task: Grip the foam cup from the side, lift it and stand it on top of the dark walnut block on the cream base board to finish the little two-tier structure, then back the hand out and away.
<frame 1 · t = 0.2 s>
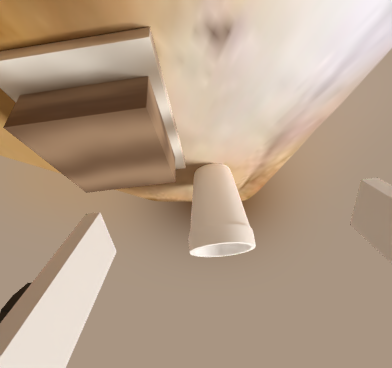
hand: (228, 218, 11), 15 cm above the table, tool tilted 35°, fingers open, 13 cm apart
build base: (114, 122, 25), on the table
foam cup: (212, 172, 36), on the table
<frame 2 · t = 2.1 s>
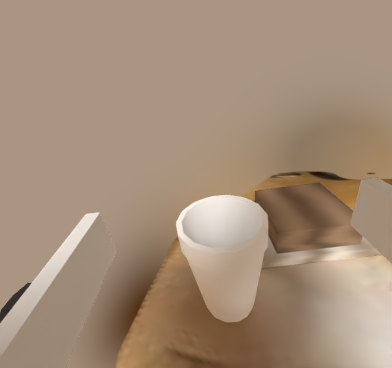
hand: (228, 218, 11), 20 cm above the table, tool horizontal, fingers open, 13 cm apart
build base: (298, 230, 37), on the table
foam cup: (229, 298, 28), on the table
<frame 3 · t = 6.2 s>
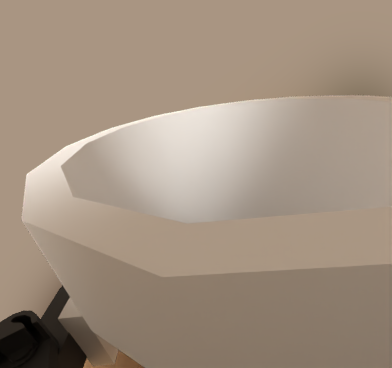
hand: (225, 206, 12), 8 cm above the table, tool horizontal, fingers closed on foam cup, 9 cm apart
foam cup: (246, 367, 11), on the table, touching gripper
when the fingers open (14 cm above the table, at t = 10.7 s): foam cup drops 1 cm, resting on build base.
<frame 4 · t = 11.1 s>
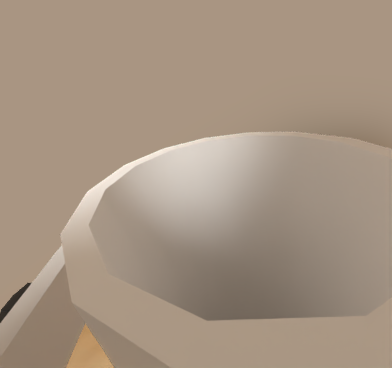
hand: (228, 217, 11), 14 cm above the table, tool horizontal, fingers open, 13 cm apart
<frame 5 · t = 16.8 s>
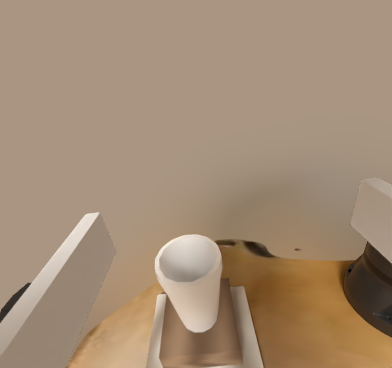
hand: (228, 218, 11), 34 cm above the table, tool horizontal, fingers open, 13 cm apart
build base: (202, 330, 38), on the table
foam cup: (199, 313, 35), point 5 cm above the table, touching build base
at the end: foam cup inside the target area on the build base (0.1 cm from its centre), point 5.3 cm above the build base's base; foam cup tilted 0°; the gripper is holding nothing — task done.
